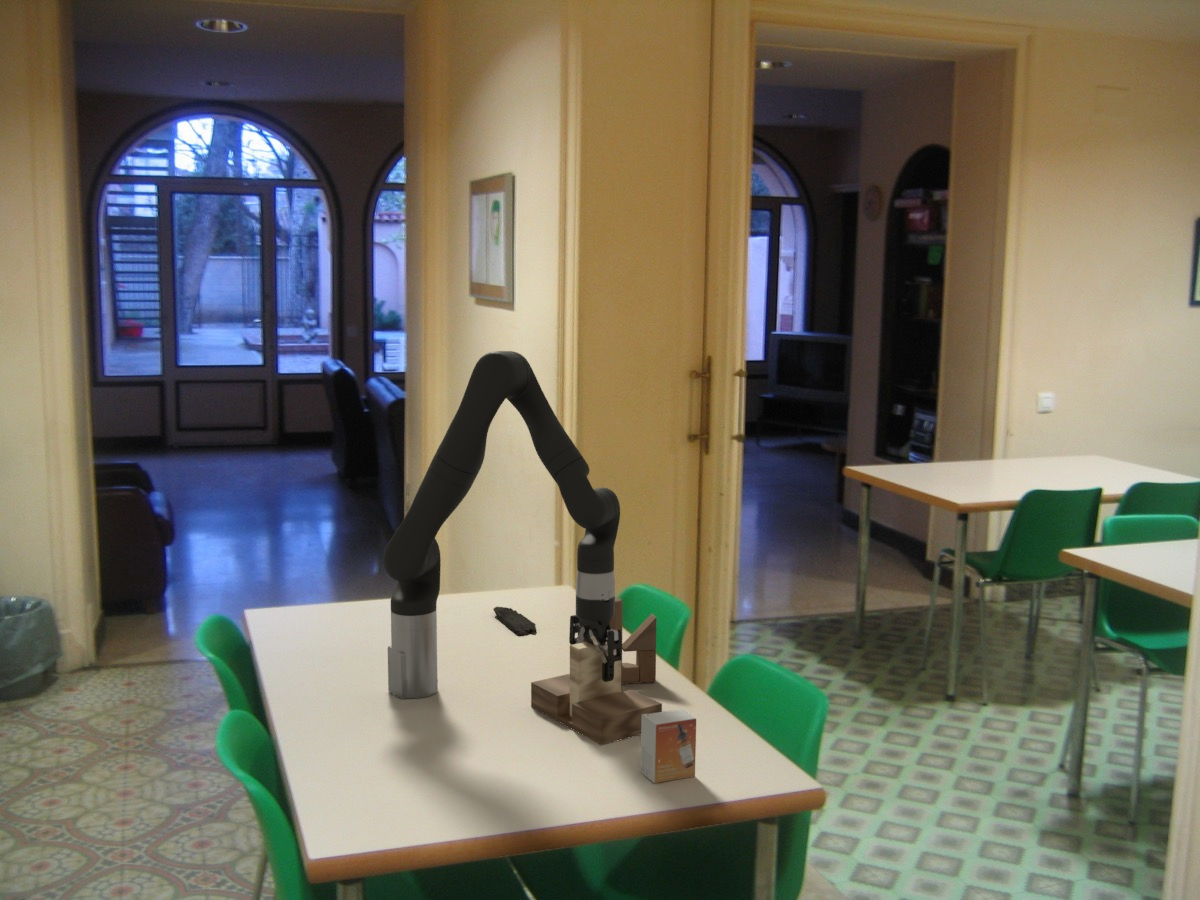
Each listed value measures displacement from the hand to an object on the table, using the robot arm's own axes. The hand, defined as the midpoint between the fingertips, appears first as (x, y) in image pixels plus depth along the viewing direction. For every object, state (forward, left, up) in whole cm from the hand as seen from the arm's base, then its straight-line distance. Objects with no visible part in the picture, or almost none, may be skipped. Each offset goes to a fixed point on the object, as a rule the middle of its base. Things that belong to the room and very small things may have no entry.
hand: (594, 674), depth 228 cm
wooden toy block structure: (+18, +13, -9) cm, 24 cm away
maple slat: (0, 0, -8) cm, 8 cm away
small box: (-5, -29, -9) cm, 31 cm away
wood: (+21, +64, -9) cm, 67 cm away
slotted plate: (0, 0, -9) cm, 9 cm away
